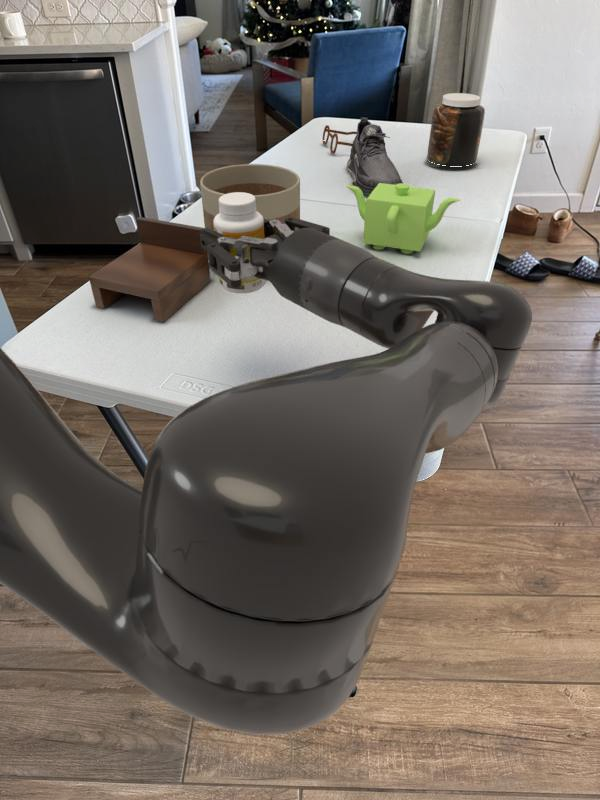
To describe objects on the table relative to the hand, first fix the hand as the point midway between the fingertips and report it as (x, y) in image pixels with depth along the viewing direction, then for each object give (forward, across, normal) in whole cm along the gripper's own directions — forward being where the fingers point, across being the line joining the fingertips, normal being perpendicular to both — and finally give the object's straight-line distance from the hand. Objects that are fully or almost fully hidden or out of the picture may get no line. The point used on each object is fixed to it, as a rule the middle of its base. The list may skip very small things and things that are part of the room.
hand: (226, 229), depth 66 cm
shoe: (+35, +66, -18) cm, 77 cm away
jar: (+32, +91, -18) cm, 98 cm away
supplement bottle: (-3, 0, -6) cm, 7 cm away
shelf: (+23, +1, -18) cm, 29 cm away
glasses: (+57, +82, -17) cm, 102 cm away
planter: (+22, +20, -18) cm, 35 cm away
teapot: (+9, +44, -18) cm, 48 cm away
